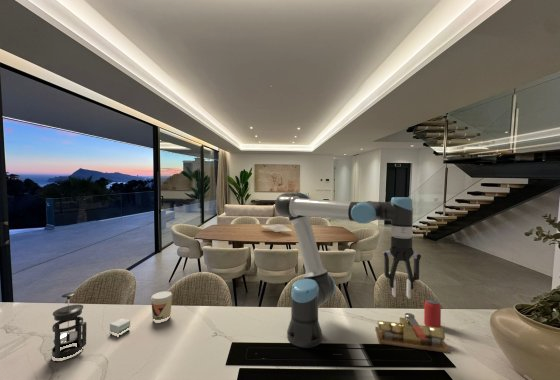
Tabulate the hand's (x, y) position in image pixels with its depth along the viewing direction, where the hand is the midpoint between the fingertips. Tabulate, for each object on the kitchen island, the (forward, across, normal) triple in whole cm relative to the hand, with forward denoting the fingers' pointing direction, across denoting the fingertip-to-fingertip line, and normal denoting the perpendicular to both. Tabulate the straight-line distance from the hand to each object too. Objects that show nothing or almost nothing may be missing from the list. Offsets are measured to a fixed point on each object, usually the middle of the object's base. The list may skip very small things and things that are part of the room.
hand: (401, 296), depth 95 cm
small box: (+23, -118, -14) cm, 121 cm away
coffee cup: (+23, -108, 0) cm, 110 cm away
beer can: (+23, +20, +26) cm, 40 cm away
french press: (+23, -125, -30) cm, 130 cm away
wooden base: (+23, +6, +10) cm, 26 cm away
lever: (+13, +6, +4) cm, 15 cm away
